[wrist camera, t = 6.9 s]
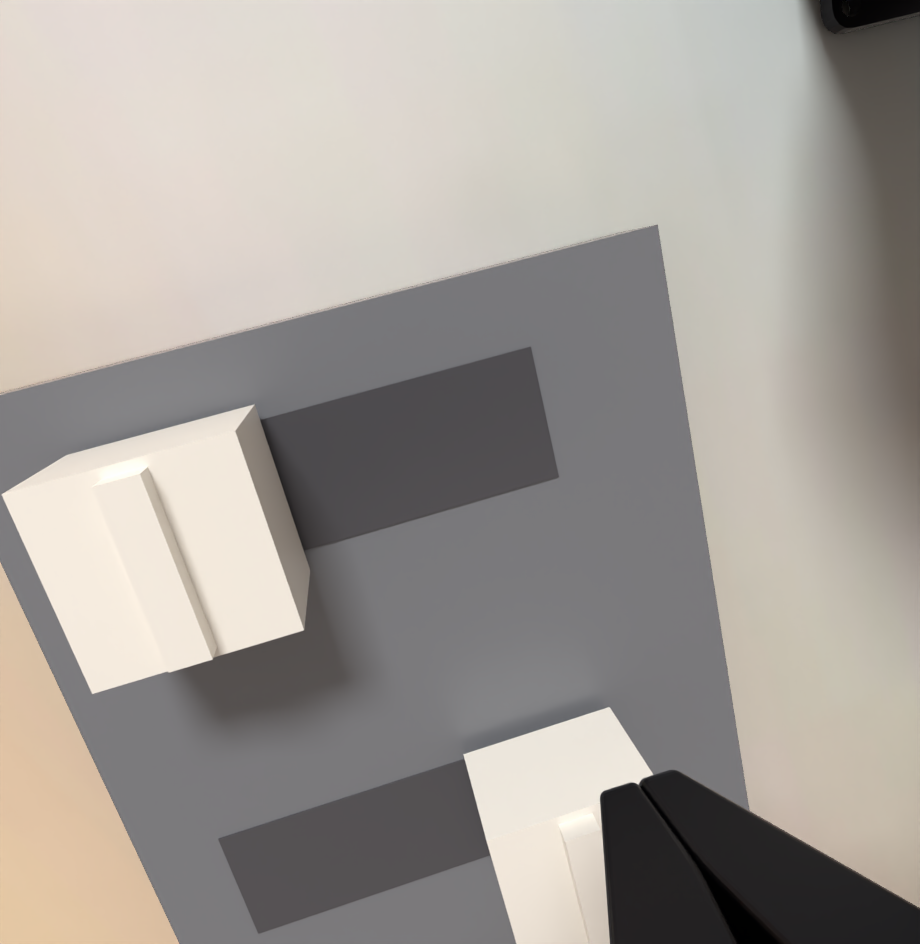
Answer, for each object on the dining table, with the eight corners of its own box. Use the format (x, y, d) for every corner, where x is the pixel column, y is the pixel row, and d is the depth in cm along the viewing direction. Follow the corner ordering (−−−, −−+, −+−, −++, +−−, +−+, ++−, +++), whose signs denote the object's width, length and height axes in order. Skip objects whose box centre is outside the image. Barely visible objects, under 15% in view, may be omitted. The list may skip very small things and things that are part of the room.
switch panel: (623, 231, 18) (657, 224, 16) (754, 1002, 25) (789, 1060, 24) (-23, 398, 16) (-71, 413, 15) (320, 1164, 24) (318, 1241, 22)
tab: (254, 404, 15) (231, 436, 12) (310, 570, 16) (303, 642, 13) (66, 454, 15) (-13, 502, 12) (136, 621, 16) (83, 709, 13)
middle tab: (609, 706, 19) (669, 798, 15) (635, 827, 20) (695, 937, 16) (463, 754, 18) (491, 858, 15) (498, 874, 19) (531, 996, 16)
